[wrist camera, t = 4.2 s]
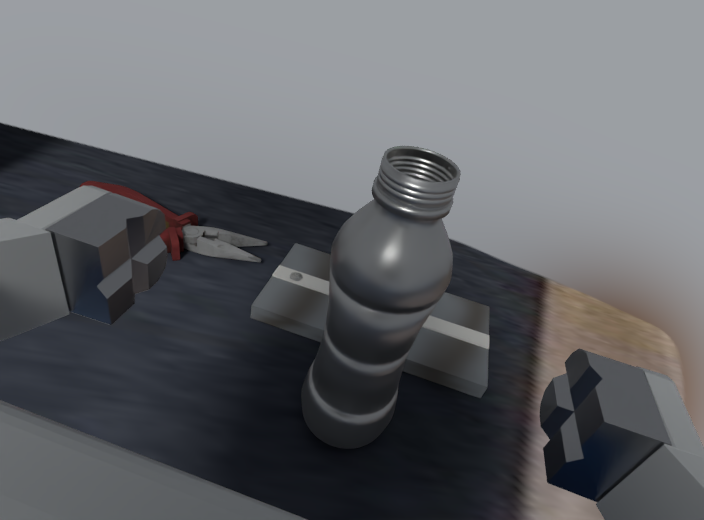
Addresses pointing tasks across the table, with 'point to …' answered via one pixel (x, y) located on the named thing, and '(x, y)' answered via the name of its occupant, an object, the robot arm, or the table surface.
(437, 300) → the plastic bottle
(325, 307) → the subfloor board
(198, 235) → the pliers
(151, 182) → the table surface
